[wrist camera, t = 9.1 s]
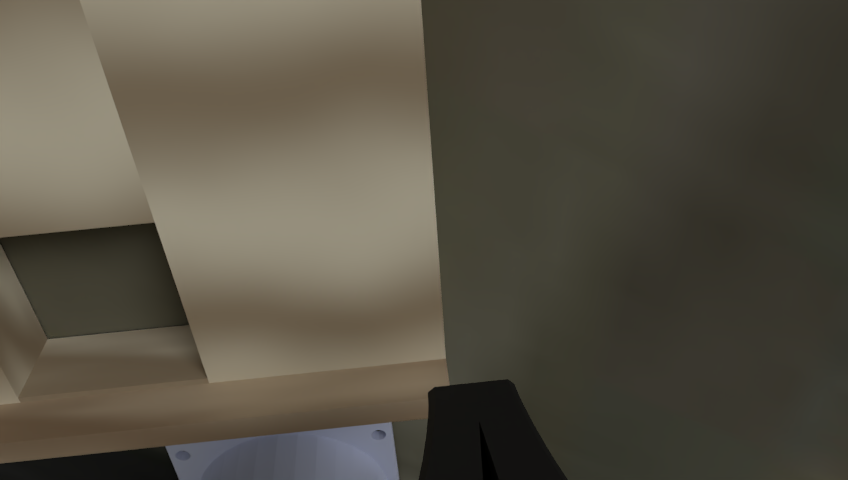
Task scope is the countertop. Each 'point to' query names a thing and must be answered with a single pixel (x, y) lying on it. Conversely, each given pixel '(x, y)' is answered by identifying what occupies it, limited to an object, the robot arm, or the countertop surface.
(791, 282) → the countertop surface
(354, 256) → the mottled shallow tray
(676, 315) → the countertop surface
